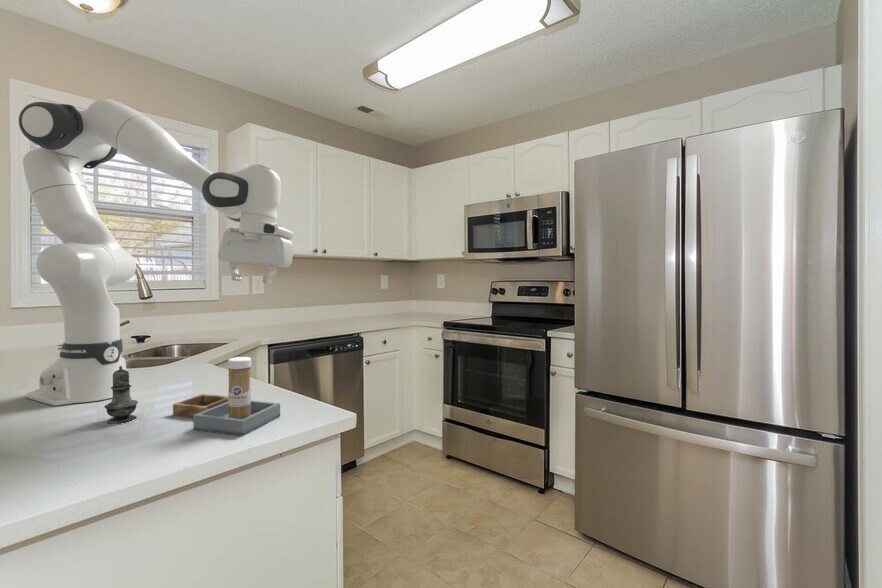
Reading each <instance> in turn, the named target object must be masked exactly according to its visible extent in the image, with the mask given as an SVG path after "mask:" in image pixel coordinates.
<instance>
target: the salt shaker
mask: <svg viewBox="0 0 882 588" xmlns="http://www.w3.org/2000/svg"><path fill="white" fill-rule="evenodd" d="M122 368H123V367H122V366H120V367H119V370H118V371H115V372H114V373H113V387H111V389H112V390H113V397H112V398H111V402H109V403H107V404H105V405H104V408H103V409H106V411H105V412H106V413H107V414H108V416H110V419H108V420H107V421H106V424H107V425H110V424H117V425H122V424H121V423H124V424H127V423H126V422H128V423H130V422H129V421H132V420H134V419H136V418H137V416H136V415H133V413H134V412H135V411H136V409H137V405H138V403H139V401H138V400H135V399H132V397H131V394H130V393H131V390H130V388H131V387H132V384H131V385H129V382H130V373H129V371H128V370H127V369H126V370H127V371H126V370H123V369H122ZM136 420H137V419H136ZM134 421H135V420H134ZM132 422H133V421H132Z"/></svg>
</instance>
